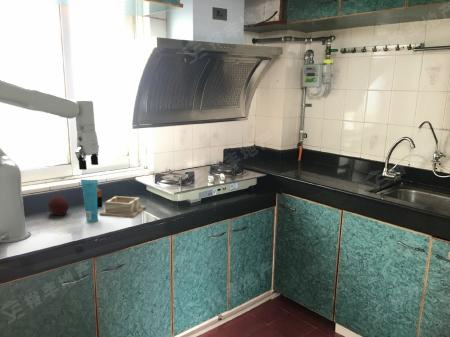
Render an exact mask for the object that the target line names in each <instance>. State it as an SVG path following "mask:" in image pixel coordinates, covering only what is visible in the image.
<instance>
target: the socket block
mask: <svg viewBox="0 0 450 337" xmlns="http://www.w3.org/2000/svg"><path fill="white" fill-rule="evenodd" d="M145 209H146V205H141V198H140V197H137V196H121V195H120V196H119V195H115V196H113V197H112V198H110V199H108V200H106V201H105V202H104V210H103V211H100V213H98V214H99V215H98V216H100V217H101V216H102V217H104V216H105V217H117V218H127V219H128V218H131V219H133V218H135V217H136V216H137V215H139V214H140V213H141V212H143V211H145Z"/></svg>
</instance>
